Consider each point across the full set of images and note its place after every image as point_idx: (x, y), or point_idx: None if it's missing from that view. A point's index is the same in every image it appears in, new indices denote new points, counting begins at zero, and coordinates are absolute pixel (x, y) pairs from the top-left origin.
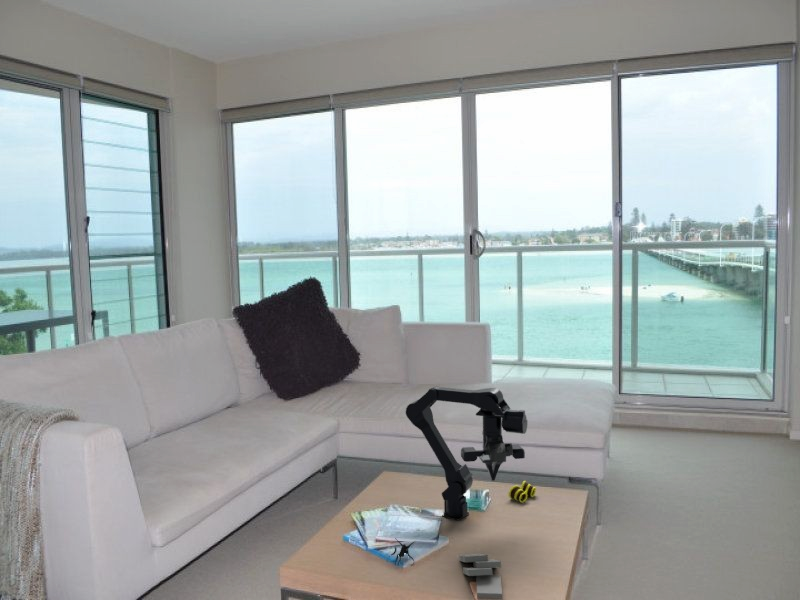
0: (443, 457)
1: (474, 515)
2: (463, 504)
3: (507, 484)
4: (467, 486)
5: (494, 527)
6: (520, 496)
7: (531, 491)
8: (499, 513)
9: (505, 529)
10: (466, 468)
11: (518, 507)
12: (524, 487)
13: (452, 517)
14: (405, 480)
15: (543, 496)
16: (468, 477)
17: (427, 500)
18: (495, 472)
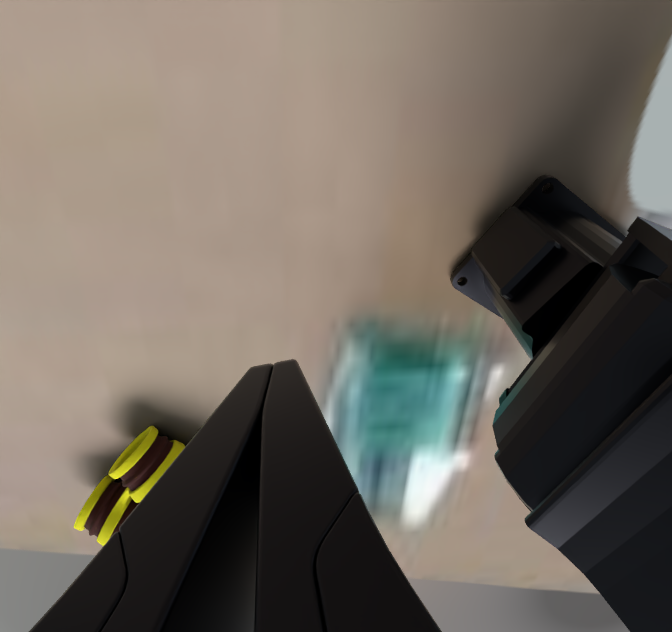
0: None
1: (417, 265)
2: (541, 250)
3: None
4: (605, 329)
5: (291, 66)
6: (141, 449)
7: (94, 499)
8: (261, 300)
9: (201, 26)
10: (650, 599)
11: (158, 377)
12: None
13: (579, 202)
14: None
15: (56, 486)
16: (622, 448)
17: None
18: (194, 483)
